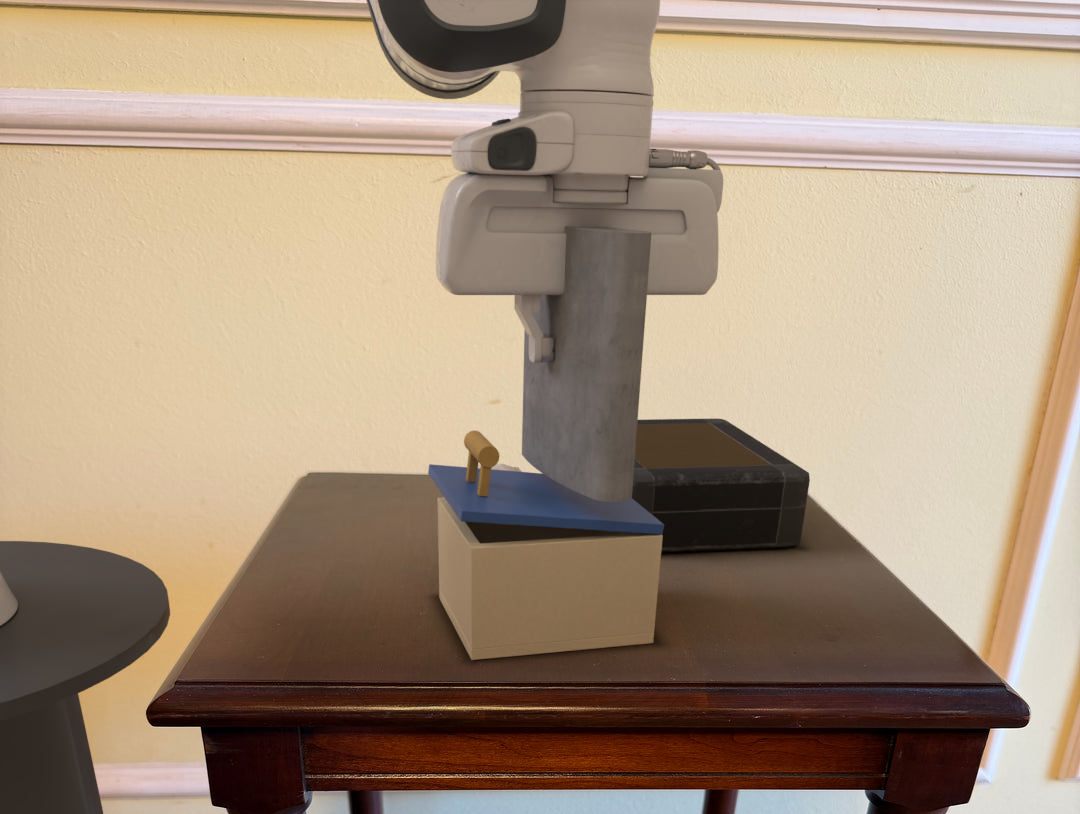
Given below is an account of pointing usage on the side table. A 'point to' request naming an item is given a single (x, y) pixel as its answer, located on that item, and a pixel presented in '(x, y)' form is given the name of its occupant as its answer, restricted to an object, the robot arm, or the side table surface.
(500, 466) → the arrowhead
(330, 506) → the side table surface
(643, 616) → the chest
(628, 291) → the hip flask
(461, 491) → the lid
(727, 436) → the cash box
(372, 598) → the side table surface
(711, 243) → the robot arm
